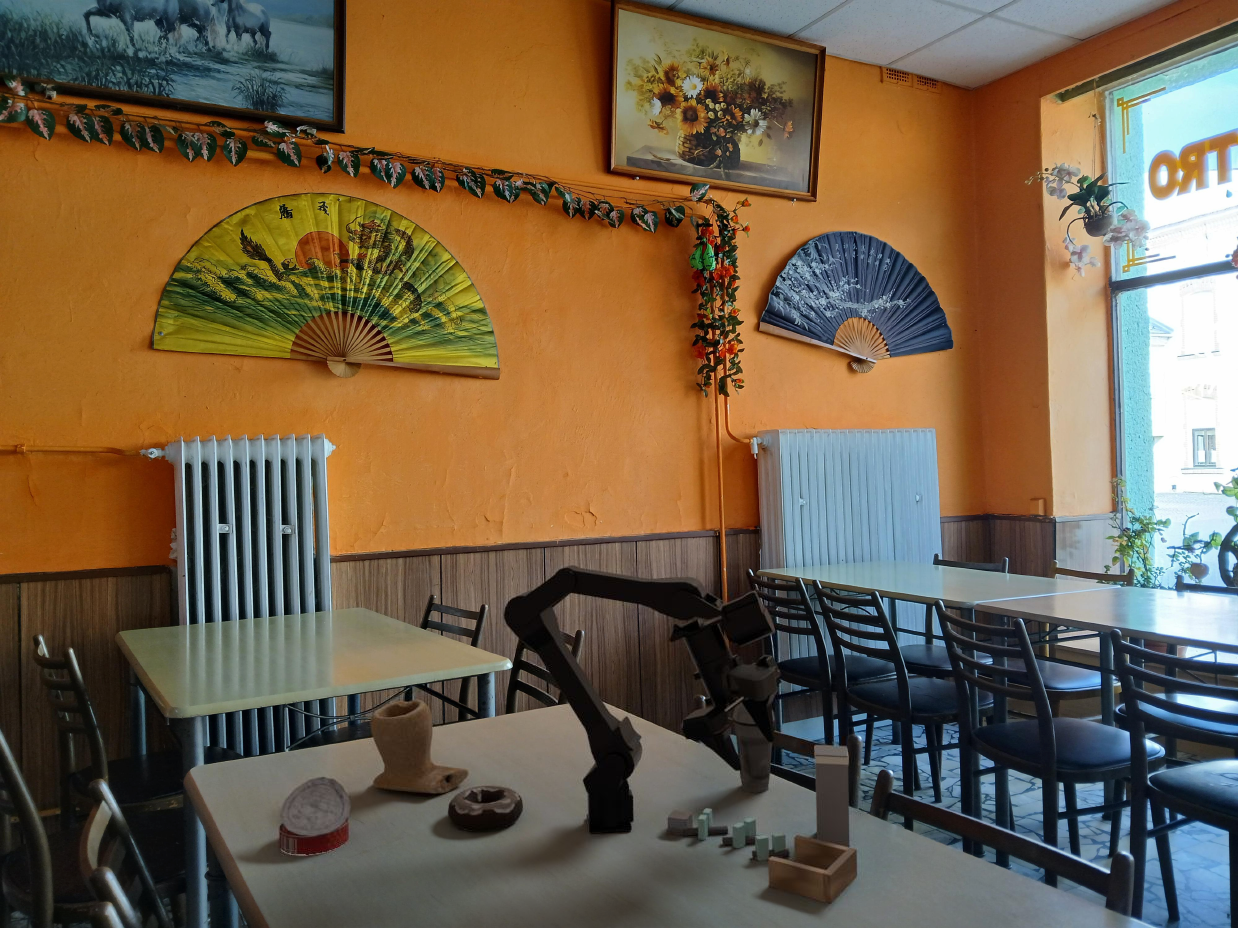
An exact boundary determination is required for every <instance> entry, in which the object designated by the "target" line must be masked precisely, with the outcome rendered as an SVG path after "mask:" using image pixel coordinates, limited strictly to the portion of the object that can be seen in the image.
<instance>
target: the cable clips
mask: <svg viewBox="0 0 1238 928" xmlns="http://www.w3.org/2000/svg"><path fill="white" fill-rule="evenodd" d="M712 826H713V809H712V808H706V807H705V808H704V810H703V811H702V814H700V815H699V817H698V818H697V827H698V835H697V837H698V839H697V840H702V841H703V840H704V841H705V840H706V839H707V837H708V836H709V834H708V827H712ZM752 835H757V820H756V818H754V817H748V818H746V819H745V820H743V823H741V822H738V823H735V824H733V825H732V837H733V844H732V847H733V848H735V849H738V850H739V849H741V848H743V847H744V846H746V843H745V836H752ZM759 835H760V836H755V843H754V847H755V848H754V851H756V852H757V858H755V859H756V860H757V861H766V860H769V850H770V846H769V845H770V843H769V842H770V841H769V840H770V838H769V836H768V835H767V834H759ZM786 839H787V838H786V834H785V833H784V832H782V831H781V832H774V833H771V850H772V849H774V850H775V852H778V851H781V850H785V849H787V848H786V847H787V844H786V841H787V840H786ZM777 858H780V857H777Z"/></svg>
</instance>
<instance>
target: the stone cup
mask: <svg viewBox="0 0 1238 928" xmlns="http://www.w3.org/2000/svg"><path fill="white" fill-rule="evenodd" d="M432 717H433V715H432V711H431V709H430V707H429V706H428V705H427V703H425V702H424V701H423V700H421V699H413V700H410V701H403V700H400V701H399V700H398V701H394V702H391V703H388V704H385V705H384V706H381V707H380V708H378V709H376V710H375V711H374V712H373V713H372V715H371V716H370V731H371V734H372V735H371V736H372V739H373V741H374V744H375V746H376V748H377V750H378V752H379V755H380V757H381V760H382V763H383V765H384V770H383V771H382V772H381V773H380V774H378V775H377V776H376V777H375V778H374V779H373V782H372V783H373V785H374V786H375V787H377V788H378V789H385V790H391V791H400V792H410V793H421V794H422V793H423V794H444V793H448V792H450V791H451V790H453V789H455V788H457V787H458V786H460V784H462V783H463V782H464V781H465V780H466V779H467V777H468V776H469V774H470V772H469V770H468V769H467V768H460V767H459V768H458V767H450V766H444V765H437V764H434V762H433V761H432V758H431V757H432V756H431V751H432V749H431V747H432V742H433V741H432V740H433V718H432Z"/></svg>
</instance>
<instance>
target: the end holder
mask: <svg viewBox="0 0 1238 928" xmlns="http://www.w3.org/2000/svg"><path fill="white" fill-rule="evenodd" d="M793 841H794V842H793V844H794V846H793V847H794V851H793V852H794V861H792V860H788V859H784V858H782V857H779V858H777V857H773V856H772V857H770V858H769V859H768V886H769V887H771V888H776V889H779V890H783V891H786V892H789V893H792V894H793V893H794V894H796V895H800V896H804V897H807V898H810V899H814V900H818V901H821V902H823V903H828V904H832V903H833V902H834V901H835V900H836V899H837V898H838V897H839V895H840V894H842V893H843V891H844V890H845V889H846V888H847V887H848V886H849V885H850V884H851V883H852V882H853V881H854V880H855V879H856V878H857V876H858V860H857V859H858V854H857V853H858V852H857V851H858V850H857V848H852V847H845V846H841V845H837V844H833V843H828V842H824V841H820V840H817V838H811V837H808V836H803V835H798V834H797V835H795V836H794V840H793Z"/></svg>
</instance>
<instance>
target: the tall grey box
mask: <svg viewBox="0 0 1238 928" xmlns="http://www.w3.org/2000/svg"><path fill="white" fill-rule="evenodd" d="M813 748H814V753H813V754H814V764H815V806H816V809H815V812H816V819H815V820H816V840H820V841H824V842H828V843H833V844H837V845H841V846H845V847H849V848H851V847H850V845H851V844H850V808H849V807H850V806H849V804H850V801H849V798H850V797H849V796H850V795H849V766H850V764H849V762H850V761H849V752H848V747H847V745H829V744H828V745H824V744H815V745H814V747H813Z"/></svg>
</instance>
